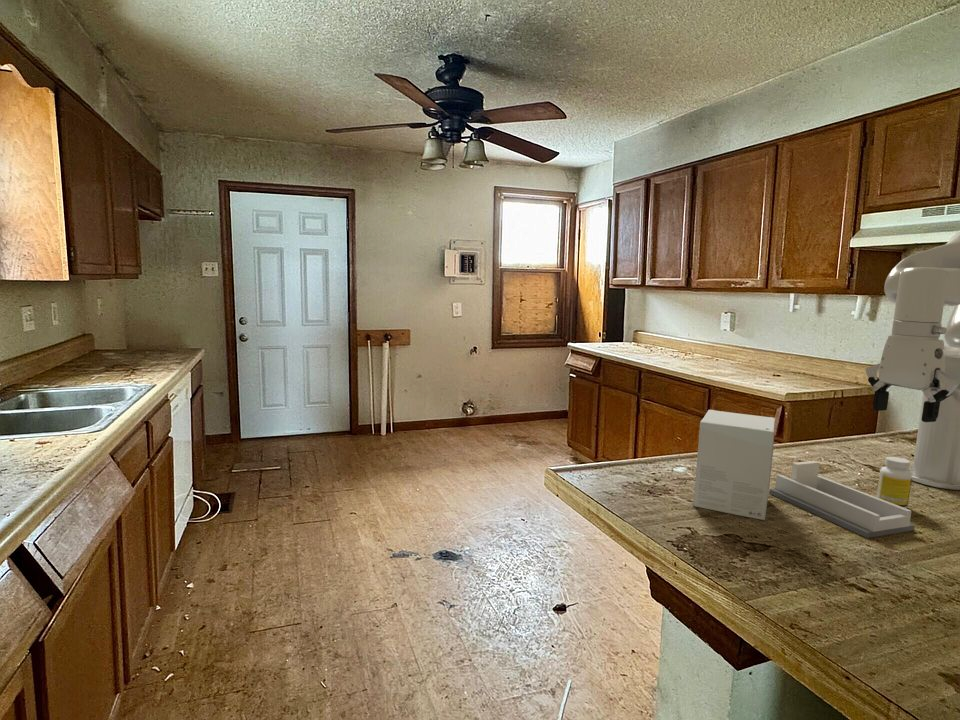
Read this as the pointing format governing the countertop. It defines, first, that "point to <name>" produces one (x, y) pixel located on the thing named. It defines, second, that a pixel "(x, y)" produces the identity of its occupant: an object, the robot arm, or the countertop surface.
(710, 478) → the supplement box
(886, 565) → the countertop surface
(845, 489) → the lane
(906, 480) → the supplement bottle
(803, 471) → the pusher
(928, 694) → the countertop surface
